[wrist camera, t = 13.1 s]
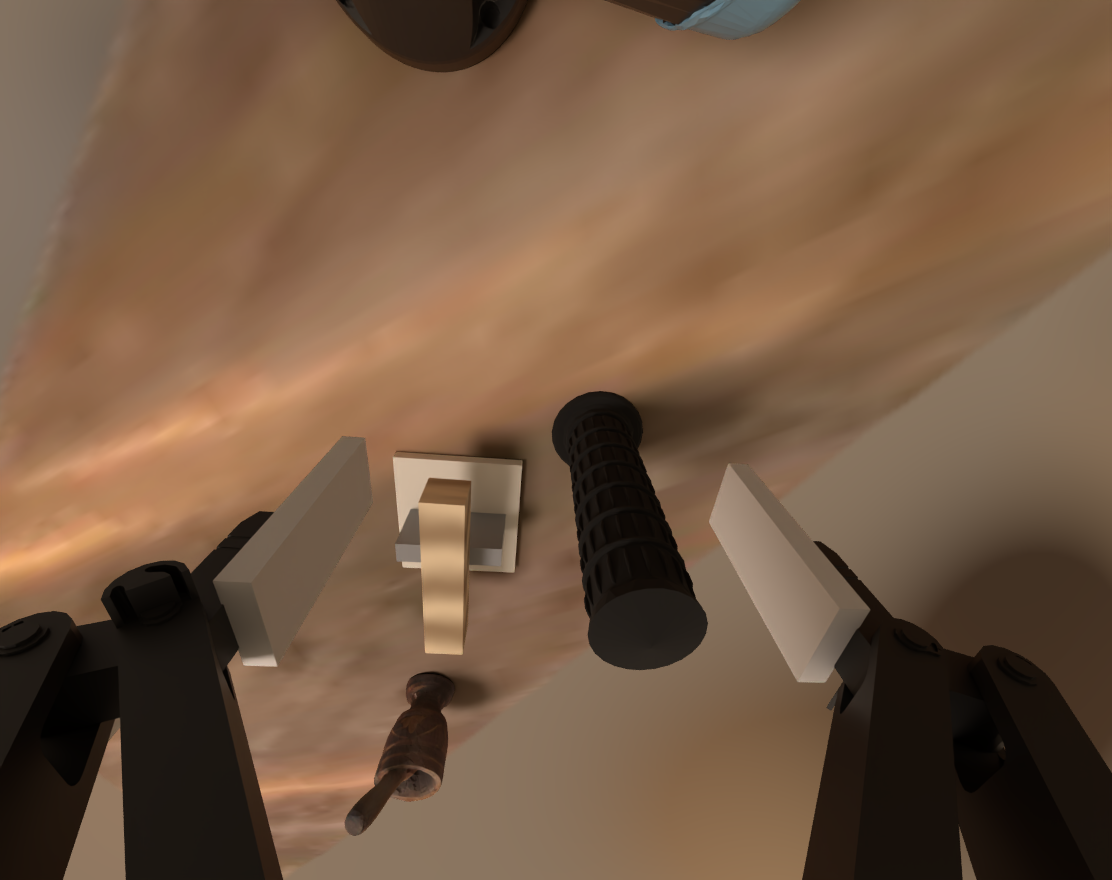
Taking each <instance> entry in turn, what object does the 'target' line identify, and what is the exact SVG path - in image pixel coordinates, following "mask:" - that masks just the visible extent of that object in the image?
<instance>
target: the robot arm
mask: <svg viewBox="0 0 1112 880" xmlns="http://www.w3.org/2000/svg"><path fill="white" fill-rule="evenodd" d="M336 1H337V2H338V4H339V5H340V7H341V8H342V9H343V11H344V12H345V13H346V14H347V16H348V17H349V18H350V19H351V20H352V21H353V23H354V24H355V25H356V26H357V27H358V28H359V29H360V30H361V31H362V32H363V33H364V34H365V35H366V36H367V37H368V38H369V39H370V40H371V41H372V42H373V43H374V44H375V45H376V46H377V47H379V48H380V49H381V50H383V51H384V52H385V53H387V54H388V55H390V56H391V57H393V58H395V59H396V60H398V61H400V62H402V63H404V64H406V65H409V66H411V67H414V68H417V69H421V70H425V71H431V72H451V71H457V70H461V69H464V68H468V67H470V66H472V65H475V64H477V63H478V62H480V61H482V60H484V59H485V58H487V57H488V56H489V55H491V54H492V53H493V52H494V51H495V50H496V49H497V48H498V47H500V45H501V44H502V43H503V42H504V41H505V40H506V39H507V37H508V36H509V35H510V33H511V32H512V30H513V29H514V27H515V26H516V24H517V22H518V20H519V19H520V17H521V15H522V12H523V10H524V8H525V5H526V3H527V0H336ZM605 1H608V2H611V3H614V4H617V5H620V6H623V7H625V8H628V9H631V10H634V11H637V12H640V13H643V14H646V15H649V16H652V17H654V18H655V20H656V22H657V24H658V25H660V26H661V27H663V28H665V29H667V30H672V31H675V30H686V29H689V30H693V31H696V32H700V33H703V34H707V35H711V36H714V37H718V38H721V39H726V40H735V39H739V38H741V37H747V36H751V35H752V34H755V33H759V32H761V31H763V30H765V29H766V28H768V27H769V26H771V25H772V24H774V23H775V22H776V21H778V20H779V19H780V18H782V17H783V16H784V15H785V14H787V13H788V12H789V11H790V10H791V9H792V8H793V7H794V6H796V5H797V4H798V3H799V2H800V1H801V0H605ZM372 503H373V499H372V491H371V482H370V474H369V466H368V457H367V449H366V441H365V438H360V437H346V436H342V437H341V438H340V440H339V441H338V442H337V443H336V444H335V445H334V446H333V447H332V448H331V450H330V451H329V452H328V453H327V454H326V455H325V456H324V457H323V458H322V460H321V461H320V462H319V463H318V464H317V465H316V466H315V467H314V469H313V470H312V471H311V472H310V473H309V474H308V475H307V476H306V477H305V479H304V480H303V481H302V482H301V483H300V484H299V485H298V486H297V487H296V489H295V490H294V491H293V492H292V493H291V494H290V495H289V496H288V498H287V499H286V500H285V501H284V502H283V503H282V504H281V505H280V506H279V508H278V509H277V510H276V511H275V512H263V511H259V512H258V513H256V514H254V515H252V516H251V517H249V518H247V519H246V520H244V521H242V522H241V523H240V524H239V525H238V526H237V527H236V528H235V529H234V530H233V531H232V532H231V533H230V534H229V535H228V538H225V539H224V540H223V541H222V542H221V543H220V544H219V545H218V546H217V549H216V550H213V551H212V552H211V553H210V554H209V555H208V556H207V557H206V558H205V559H204V560H203V561H202V563H201V564H200V565H199V566H198V567H197V568H196V569H195V570H194V571H193V572H192V573H191V574H190V571H189V569H188V568H187V567H186V565H185V564H184V563H181V562H178V561H158V562H154V563H150V564H145V565H143V566H140V567H138V568H135V569H133V570H130V571H128V572H127V573H125V574H123V575H122V576H120V577H119V578H117V579H115V580H114V581H113V582H112V583H111V584H110V585H109V586H108V587H107V588H106V589H105V590H104V592H103V595H102V598H101V601H102V603H103V604H104V606H105V608H106V610H107V612H108V613H109V615H110V617H111V619H112V620H107V621H102V622H97V623H92V624H86V625H81V626H76V625H75V623H74V621H73V620H72V618H71V617H70V616H69V615H68V614H67V613H63V612H57V611H51V612H44V613H37V614H34V615H31V616H28V617H25V618H21V619H18V620H16V621H14V622H12V623H10V624H8V625H6V626H4V627H1V628H0V880H63V877H64V874H65V871H66V868H67V865H68V862H69V859H70V856H71V852H72V850H73V847H74V844H75V840H76V838H77V834H78V831H79V828H80V825H81V822H82V819H83V816H84V813H85V810H86V807H87V804H88V801H89V798H90V795H91V792H92V789H93V785H94V783H95V780H96V776H97V773H98V770H99V767H100V764H101V761H102V758H103V755H104V752H105V749H106V746H107V743H108V740H109V737H110V734H111V731H112V728H113V725H114V721H115V719H117V718H120V731H121V759H122V787H123V812H124V814H123V815H124V843H125V870H126V880H283V877H282V874H281V870H280V866H279V862H278V858H277V854H276V850H275V846H274V842H273V838H272V835H271V831H270V827H269V823H268V819H267V815H266V811H265V807H264V803H263V799H262V796H261V792H260V788H259V784H258V780H257V776H256V772H255V768H254V764H253V760H252V757H251V753H250V749H249V745H248V741H247V737H246V733H245V729H244V725H243V721H242V718H241V714H240V710H239V706H238V702H237V698H236V694H235V690H234V686H233V683H232V679H231V675H230V672H229V669H228V667H227V665H228V663H229V662H230V660H231V659H232V658H233V656H234V655H235V653H236V652H237V650H238V651H239V653H240V656H241V659H242V662H243V664H244V665H245V666H278V665H279V663H280V661H281V659H282V658H283V656H284V654H285V653H286V651H287V649H288V647H289V646H290V644H291V642H292V641H293V639H294V637H295V635H296V634H297V632H298V630H299V629H300V627H301V625H302V623H303V622H304V620H305V618H306V617H307V615H308V613H309V611H310V610H311V608H312V606H313V605H314V603H315V601H316V599H317V598H318V596H319V594H320V592H321V591H322V589H323V587H324V586H325V584H326V582H327V580H328V579H329V577H330V575H331V574H332V572H333V570H334V568H335V567H336V565H337V563H338V562H339V560H340V558H341V556H342V555H343V553H344V551H345V550H346V548H347V546H348V544H349V543H350V541H351V539H352V538H353V536H354V534H355V532H356V531H357V529H358V527H359V526H360V524H361V522H362V520H363V519H364V517H365V515H366V514H367V512H368V510H369V508H370V507H371V505H372ZM709 523H710V525H711V527H712V528H713V530H714V532H715V534H716V536H717V537H718V539H719V541H720V543H721V545H722V546H723V548H724V550H725V552H726V554H727V555H728V557H729V559H730V561H731V562H732V564H733V566H734V568H735V570H736V572H737V574H738V575H739V577H740V579H741V581H742V582H743V584H744V586H745V588H746V590H747V592H748V593H749V595H750V597H751V599H752V600H753V602H754V604H755V606H756V608H757V610H758V611H759V613H760V615H761V617H762V619H763V620H764V622H765V624H766V626H767V627H768V629H769V631H770V633H771V635H772V637H773V638H774V640H775V642H776V643H777V646H778V647H779V649H780V651H781V653H782V655H783V656H784V658H785V660H786V662H787V664H788V665H789V667H790V669H791V671H792V673H793V675H794V676H795V678H796V680H797V682H819V683H825V682H826V680H827V679H828V677H829V676H830V674H831V672H832V671H833V669H834V668H835V669H836V670H837V672H838V673H839V674H840V676H841V678H842V679H843V683H842V684H841V686H840V687H839V689H838V690H837V692H836V693H835V695H834V696H833V698H832V699H831V701H830V702H829V704H828V706H827V708H828V709H829V710H832V708H833V707H834V706H835V708H834V713H833V719H832V724H831V730H830V735H829V740H828V745H827V751H826V756H825V761H824V767H823V772H822V777H821V782H820V788H819V793H818V798H817V804H816V809H815V814H814V820H813V825H812V830H811V836H810V841H809V847H808V851H807V857H806V862H805V867H804V873H803V878H802V880H962V866H961V851H960V837H959V827H960V829H961V833H962V836H963V839H964V842H965V845H966V848H967V851H968V854H969V857H970V861H971V863H972V867H973V870H974V873H975V876H976V879H977V880H1112V773H1111V771H1110V769H1109V768H1108V766H1107V765H1106V763H1105V762H1104V760H1103V759H1102V757H1101V755H1100V754H1099V752H1098V751H1097V749H1096V748H1095V746H1094V745H1093V743H1092V741H1091V740H1090V738H1089V737H1088V735H1087V734H1086V732H1085V731H1084V729H1083V728H1082V726H1081V725H1080V723H1079V721H1078V720H1077V718H1076V717H1075V715H1074V714H1073V712H1072V711H1071V709H1070V707H1069V706H1068V704H1067V703H1066V701H1065V700H1064V698H1063V697H1062V695H1061V693H1060V692H1059V690H1058V689H1057V687H1056V686H1055V684H1054V683H1053V682H1052V681H1051V679H1050V678H1049V677H1048V676H1047V675H1046V673H1044V672H1043V671H1042V670H1041V669H1039V668H1038V667H1037V666H1036V665H1035V664H1033V663H1032V662H1031V661H1029V660H1028V659H1025V658H1024V657H1023V656H1021V655H1019V654H1017V653H1014V652H1012V651H1010V650H1008V649H1005V648H1002V647H998V646H994V645H989V646H983V647H982V649H981V650H980V651H979V652H978V653H977V655H976V656H975V657H971V656H967V655H964V654H960V653H957V652H954V651H950V650H946V649H943V647H942V646H941V645H940V644H939V643H938V641H937V640H936V639H935V638H934V637H932V636H931V635H930V634H929V633H928V632H926V631H925V630H923V629H921V628H920V627H918V626H916V625H914V624H913V623H910V622H907V621H905V620H902V619H896V618H893V617H892V616H891V614H890V613H889V612H888V611H887V610H886V609H885V608H884V606H883V605H882V604H881V603H880V602H879V601H878V600H877V598H875V596H874V595H873V594H872V593H871V592H870V591H869V590H868V588H867V587H866V586H865V585H864V584H863V583H862V581H861V580H858V577H857V576H856V575H855V574H854V573H853V571H852V570H851V569H848V566H847V565H846V563H845V562H844V561H843V560H842V559H841V558H840V557H839V556H838V554H837V553H835V552H834V551H833V550H831V549H830V548H828V547H827V546H826V545H824V544H823V543H822V542H819V541H812V540H811V538H810V537H809V536H808V535H807V534H806V532H805V531H804V530H803V529H802V528H801V527H800V525H799V524H798V523H797V522H796V521H795V519H794V518H793V517H792V516H791V515H790V514H789V512H788V511H787V510H786V509H785V508H784V506H783V505H782V504H781V503H780V502H779V500H778V499H777V498H776V497H775V496H774V494H773V493H772V492H771V491H770V490H769V489H768V487H767V486H766V485H765V484H764V483H763V481H762V480H761V479H760V478H759V477H758V475H757V474H756V473H755V472H754V471H753V470H752V468H751V467H750V466H749V465H748V464H734V463H728V466H727V469H726V472H725V475H724V478H723V481H722V484H721V487H720V490H719V493H718V496H717V499H716V502H715V505H714V508H713V511H712V514H711V517H710V520H709ZM1004 746H1005V749H1004Z"/></svg>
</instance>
